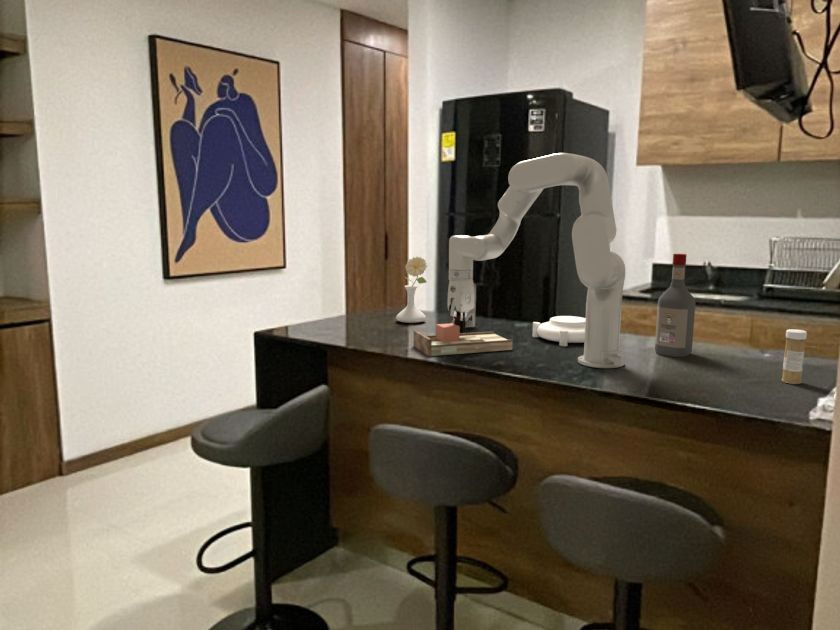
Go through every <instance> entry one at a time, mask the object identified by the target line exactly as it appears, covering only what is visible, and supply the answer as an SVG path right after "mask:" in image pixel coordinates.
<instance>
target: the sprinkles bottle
mask: <svg viewBox="0 0 840 630" xmlns="http://www.w3.org/2000/svg"><path fill="white" fill-rule="evenodd" d="M807 337H808V333H807V331H806V330H803V329H796V328H795V329H793V328H791V329H790V328H789V329H786V331H785V348H784V354H783V361H782V362H783V364H782V378H781V381H782V382H783V383H786V384H792V385H799V384H801V383H802V373H803V369H804V359H805V358H804V357H805V349H806V348H805V346H806V339H807Z"/></svg>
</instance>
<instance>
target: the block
mask: <svg viewBox="0 0 840 630" xmlns="http://www.w3.org/2000/svg"><path fill="white" fill-rule="evenodd" d="M435 329H436V331H435V335H436V339H438V340H440V341H442V342H448V341H459V335H460V334H461V333H460V326H458V325H455V324H453V323H452V322H450V323H438V324H436V325H435Z"/></svg>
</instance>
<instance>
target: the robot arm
mask: <svg viewBox="0 0 840 630" xmlns="http://www.w3.org/2000/svg"><path fill="white" fill-rule="evenodd" d="M507 177H508V178H507V179H508V185H509V186H508V188H507V189H506V191H505V192H504V194H503V195H502V197H500V199H499V200H498V202H497V208H498V210H499V216H498V218H497V221H496V222H495V224H494V225H493V227H492V229H491V230H490V232H488V234H484V235H483V234H482V235H476V236H470V235H468V234H467V235H465V234H464V235H463V234H460V235H459V234H458V235H456V234H455V235H451V236H450V238H449V240H448V280H449V282H448V288H447V289H448V291H447V310H448V311H449V312H450V313H449V315H450V317H452V316H453V317H454V324H455V325H458V326H460V334H462V333H466V328H467V327H466V318H467V313H468V312H469V311H470V310H472V309H473V308H474V284H473V283H474V280H473V279H474V261H477V262H482V261H487V260H492V259H496V258H498V257H500V256H501V255H502V254H503V253H504V252H505V250H506V249H507V248H508V247H509V246H510V244H511V242H512V241H513V240H514V238H515V236H516V235H517V232H518V230H519V227H520V226H521V223H522V222H521V221H522V219H523V217H524V216H525V215H526V214H527V212H528V211H529V210H530V208H531V207H532V205H533V204H534V202H535V201H536V200H537V198H538V197H539V196H540V194H541V193H542V192H543V190H544V189H547V188H551V187H556V186H574V187H575V186H576V187H577V188H578V189H577V190H578V191H579V192H578V193H579V194H578V203H579V207H580V214H581V215H580V216H579V217H577V218H576V220H575V221H574V222H573V225H572V229H571V240H572V242H571V243H572V247H573V254H574V260H575V261H574V262H575V267H576V268H575V269H576V272H577V276H578V278H579V281H580V283H582V285H584V286H585V287H586V288H587V292H586V293H587V294H586V301H585V302H586V303H585V317H584V318H585V340H584V344H583V346H584V347H583V355H582V354H581V355H579V356H578V357H577V362H578V364H580V365H583V366H585V367H589V368H597V369H616V368H621V367H623V366H624V364H625V357H624V356H621V350H620V335H621V318H622V302H623V293H624V285H625V280H626V264H625V262H624V260H623V258H622V257H621V256H620V255H619V254H618V253H616V252H613V251H611V249H610V248H611V247H610V244H611V243H612V242H613V241H614V239H616V236H617V225H616V219H615V213H614V206H613V200H612V196H611V189H610V182H609V178H608V175H607V172H606V170H605V168H604V167H603V166H602V164H601V163H599V162H598V161H596V160H595V159H593V158H590V157H587V156H584V155H580V154H575V153H568V152H558V153H552V154H548V155H544V156H540V157H536V158H532V159H527V160H522V161H519V162H517V163H516V164H515V165H512V167H511V168H510V171H509V172H508V176H507Z"/></svg>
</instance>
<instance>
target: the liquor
mask: <svg viewBox="0 0 840 630" xmlns="http://www.w3.org/2000/svg"><path fill="white" fill-rule="evenodd" d="M672 257H673V258H672V274H671V283H670V286H669V287H668V288H667V289H666V290H665V291H664V292H663V293H662V294H661V295H660V296H659V297H658V300H657V307H656V308H657V309H656V323H655V324H656V325H655V340H654V350H655V352H656V354H657V355H660V356H665V357H672V358H684V357H687V356H690V355H691V353H692V351H693V339H694V328H695V327H694V326H695V325H694V324H695V315H696V299H695V297H694V296H693V295H692V293H691V292H690V291H689V289H687V288H686V284H685V275H686V266H687V265H686V264H687V254H686V253H673V254H672Z"/></svg>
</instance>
